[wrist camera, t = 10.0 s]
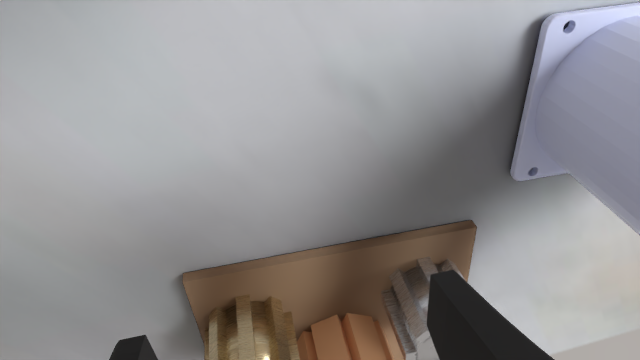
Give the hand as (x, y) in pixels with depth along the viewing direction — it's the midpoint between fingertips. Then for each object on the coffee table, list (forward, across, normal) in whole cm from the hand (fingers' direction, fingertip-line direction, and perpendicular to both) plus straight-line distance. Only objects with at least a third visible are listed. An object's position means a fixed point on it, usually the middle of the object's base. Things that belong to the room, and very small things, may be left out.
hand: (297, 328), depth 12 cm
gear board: (+9, -2, +12) cm, 15 cm away
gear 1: (+9, +2, +10) cm, 14 cm away
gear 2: (+9, -7, +10) cm, 16 cm away
